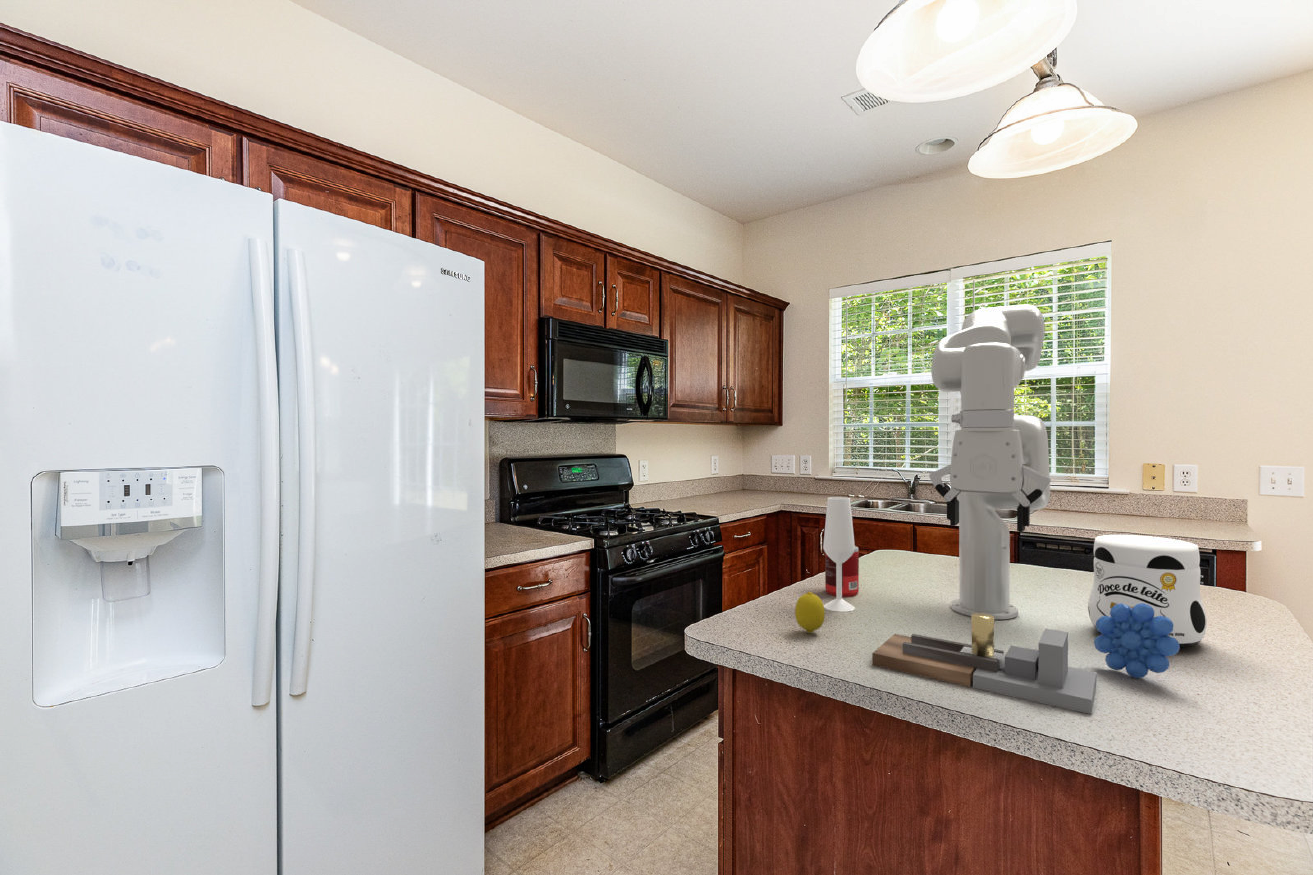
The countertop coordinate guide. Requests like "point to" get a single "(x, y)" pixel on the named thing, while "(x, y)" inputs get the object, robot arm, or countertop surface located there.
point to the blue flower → (1136, 640)
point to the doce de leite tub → (1150, 581)
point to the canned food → (843, 575)
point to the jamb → (1042, 675)
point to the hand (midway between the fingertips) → (987, 527)
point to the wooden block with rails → (931, 658)
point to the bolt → (984, 639)
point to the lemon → (810, 612)
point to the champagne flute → (839, 544)
